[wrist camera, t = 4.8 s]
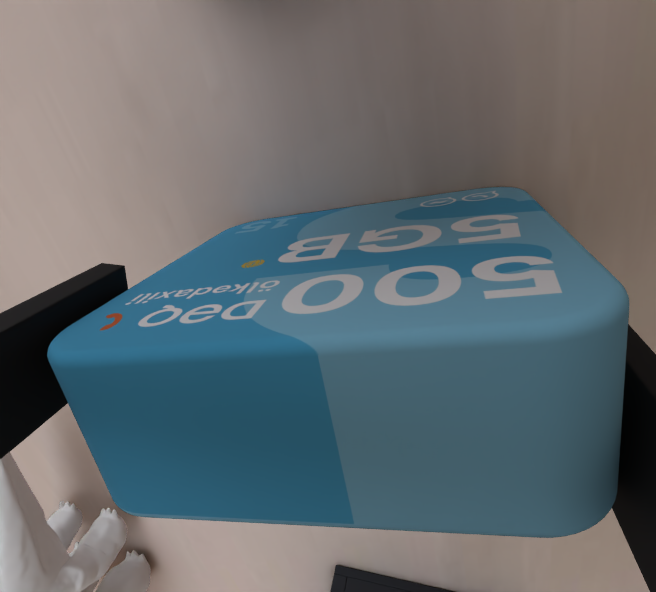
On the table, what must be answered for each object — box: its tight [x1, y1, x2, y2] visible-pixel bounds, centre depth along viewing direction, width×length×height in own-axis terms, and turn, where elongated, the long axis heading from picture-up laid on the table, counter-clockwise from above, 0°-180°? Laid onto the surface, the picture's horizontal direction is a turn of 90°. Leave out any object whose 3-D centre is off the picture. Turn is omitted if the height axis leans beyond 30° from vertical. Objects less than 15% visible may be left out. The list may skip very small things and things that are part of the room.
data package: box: [47, 187, 629, 538], centre depth 14 cm, size 12×4×12 cm, turn 100°
